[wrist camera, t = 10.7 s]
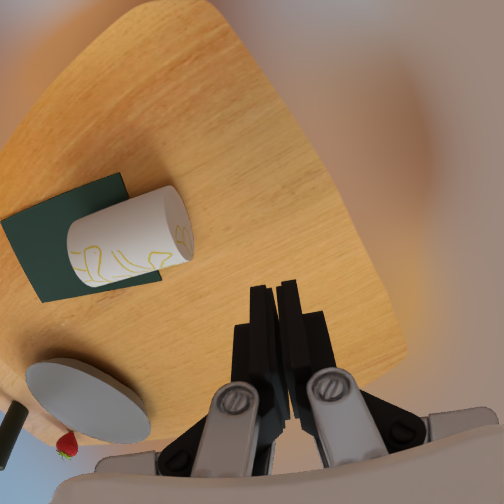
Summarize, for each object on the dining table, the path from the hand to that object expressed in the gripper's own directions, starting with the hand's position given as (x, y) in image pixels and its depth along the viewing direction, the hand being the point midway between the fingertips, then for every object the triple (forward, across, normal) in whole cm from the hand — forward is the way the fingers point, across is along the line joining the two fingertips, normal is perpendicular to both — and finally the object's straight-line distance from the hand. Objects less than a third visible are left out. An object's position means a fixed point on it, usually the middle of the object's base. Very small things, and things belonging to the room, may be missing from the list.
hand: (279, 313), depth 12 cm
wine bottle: (+24, +78, +46) cm, 94 cm away
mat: (+25, +28, +5) cm, 37 cm away
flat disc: (+24, +43, +37) cm, 61 cm away
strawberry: (+24, +63, +56) cm, 88 cm away
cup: (+21, +9, +4) cm, 23 cm away
